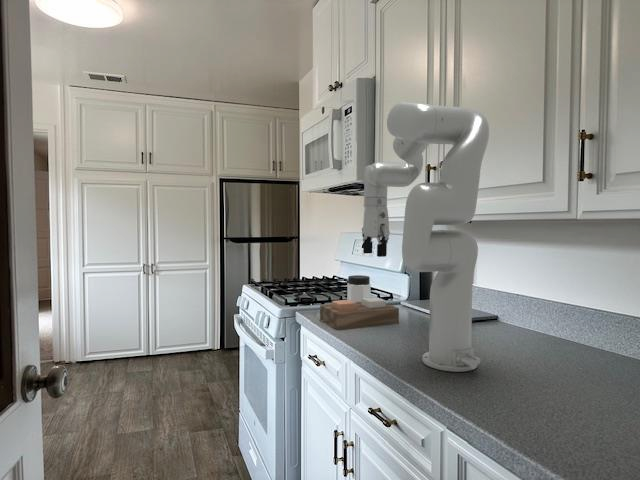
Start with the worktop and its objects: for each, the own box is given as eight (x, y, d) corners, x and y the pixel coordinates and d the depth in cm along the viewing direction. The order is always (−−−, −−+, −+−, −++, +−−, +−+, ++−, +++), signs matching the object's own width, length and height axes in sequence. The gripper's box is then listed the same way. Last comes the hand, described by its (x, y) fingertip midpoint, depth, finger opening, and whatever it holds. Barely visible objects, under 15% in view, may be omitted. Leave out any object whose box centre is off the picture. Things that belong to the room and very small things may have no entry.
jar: (358, 304, 169) (358, 274, 168) (374, 307, 163) (374, 276, 163) (342, 308, 163) (342, 276, 162) (359, 311, 157) (359, 279, 156)
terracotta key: (356, 314, 138) (356, 302, 137) (339, 315, 135) (339, 304, 135) (348, 310, 143) (348, 299, 143) (331, 311, 141) (331, 300, 141)
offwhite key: (385, 311, 142) (385, 300, 142) (370, 312, 140) (370, 301, 139) (376, 307, 147) (376, 297, 147) (361, 309, 145) (361, 298, 145)
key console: (398, 323, 139) (398, 308, 139) (337, 330, 131) (337, 314, 131) (377, 314, 152) (377, 300, 152) (320, 319, 144) (320, 305, 143)
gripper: (399, 203, 133) (398, 257, 135) (373, 203, 150) (372, 251, 151) (378, 202, 131) (376, 258, 132) (353, 203, 147) (353, 252, 148)
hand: (374, 254), depth 142 cm, fingers open, 9 cm apart
